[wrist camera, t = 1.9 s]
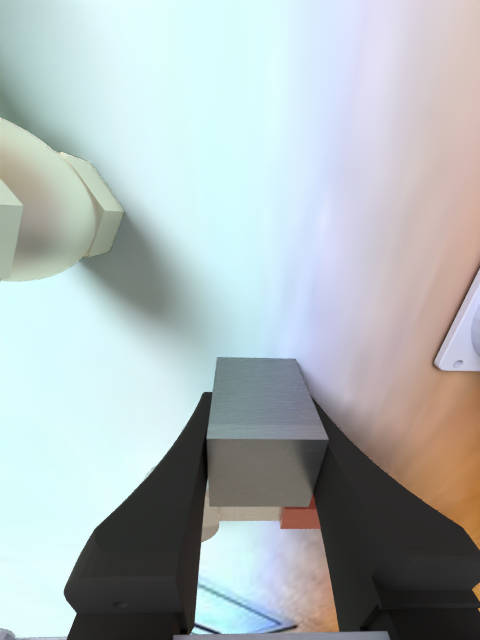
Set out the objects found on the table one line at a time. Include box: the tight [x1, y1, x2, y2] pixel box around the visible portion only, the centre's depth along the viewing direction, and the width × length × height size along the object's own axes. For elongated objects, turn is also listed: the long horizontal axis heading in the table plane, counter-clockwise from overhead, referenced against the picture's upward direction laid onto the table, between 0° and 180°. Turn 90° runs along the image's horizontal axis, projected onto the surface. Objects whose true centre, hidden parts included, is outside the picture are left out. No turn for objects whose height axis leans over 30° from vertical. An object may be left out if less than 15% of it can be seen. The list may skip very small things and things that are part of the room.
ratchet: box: [144, 467, 321, 542], centre depth 15 cm, size 16×6×5 cm, turn 88°
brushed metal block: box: [207, 358, 329, 507], centre depth 11 cm, size 4×4×5 cm
